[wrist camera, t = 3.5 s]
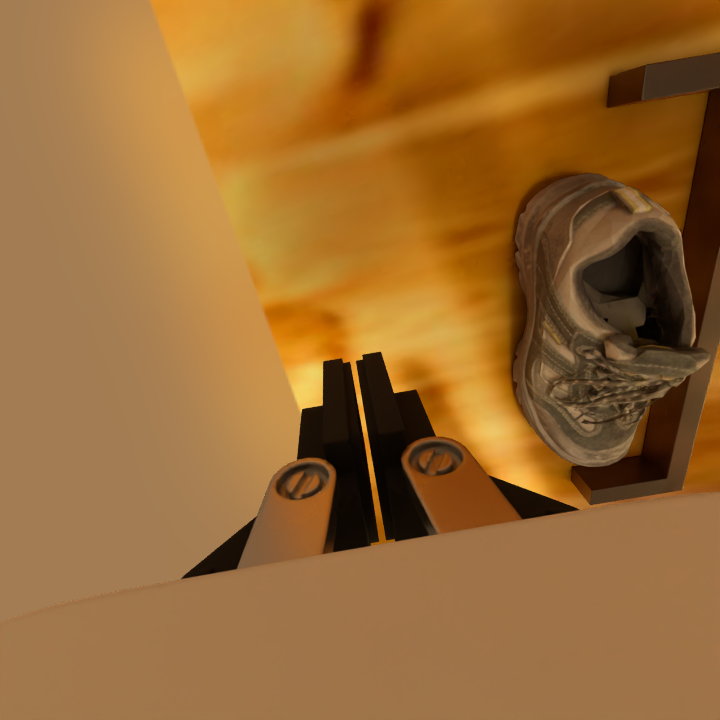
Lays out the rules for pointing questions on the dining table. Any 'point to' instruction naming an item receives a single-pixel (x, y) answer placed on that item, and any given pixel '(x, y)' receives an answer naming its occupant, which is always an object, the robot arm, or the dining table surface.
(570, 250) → the hiking shoe
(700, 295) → the bracket
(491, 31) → the dining table surface
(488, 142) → the dining table surface
